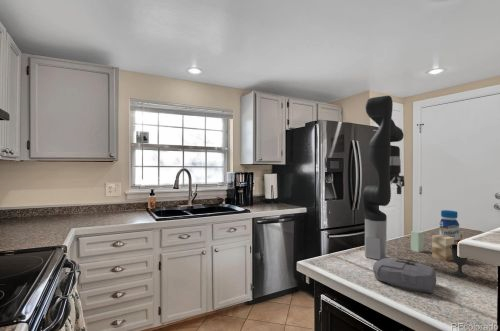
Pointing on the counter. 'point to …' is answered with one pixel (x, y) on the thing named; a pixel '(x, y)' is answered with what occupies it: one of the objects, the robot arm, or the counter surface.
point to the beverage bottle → (449, 224)
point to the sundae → (458, 260)
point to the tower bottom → (442, 254)
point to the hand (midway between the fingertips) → (393, 194)
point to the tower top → (442, 241)
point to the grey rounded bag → (405, 274)
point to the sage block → (417, 241)
